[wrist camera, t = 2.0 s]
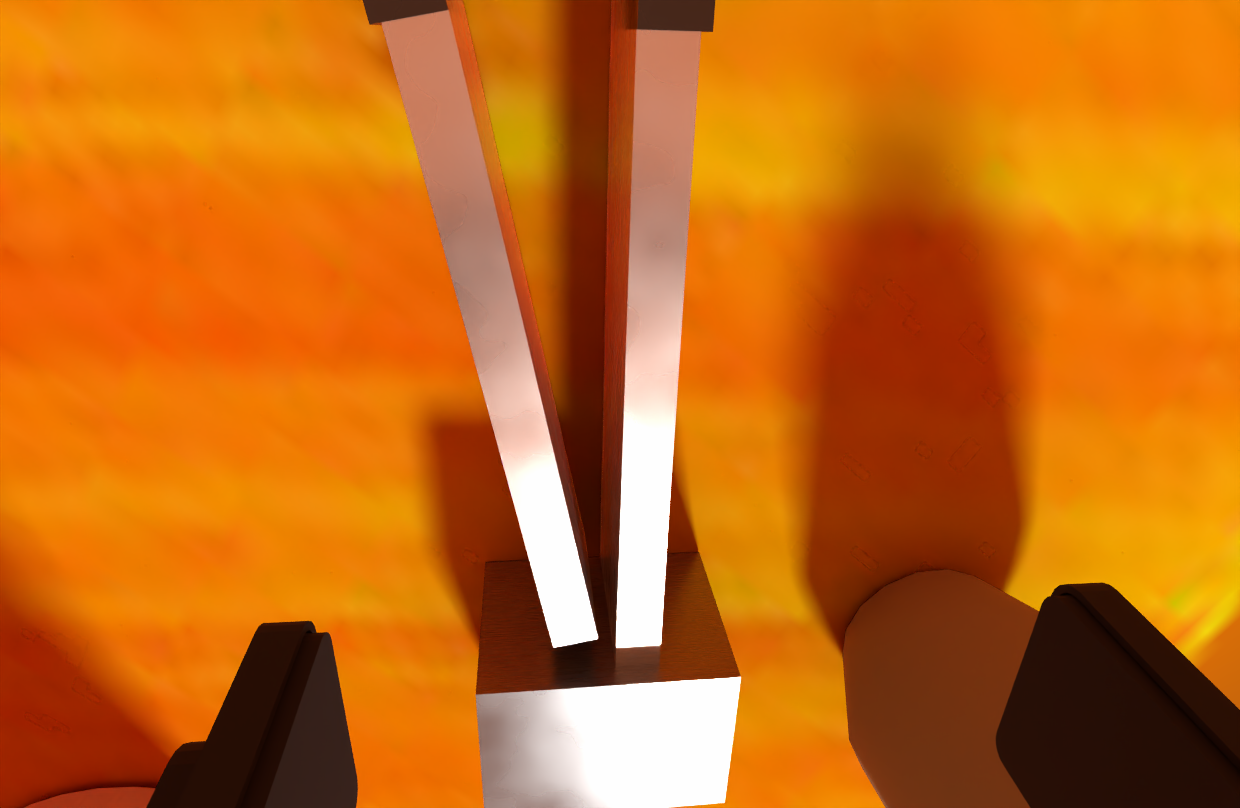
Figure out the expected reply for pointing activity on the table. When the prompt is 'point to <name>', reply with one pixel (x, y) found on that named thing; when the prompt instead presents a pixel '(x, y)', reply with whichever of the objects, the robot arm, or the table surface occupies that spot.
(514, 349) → the tong arm
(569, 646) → the tong base
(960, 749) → the squeeze bottle
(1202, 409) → the table surface
